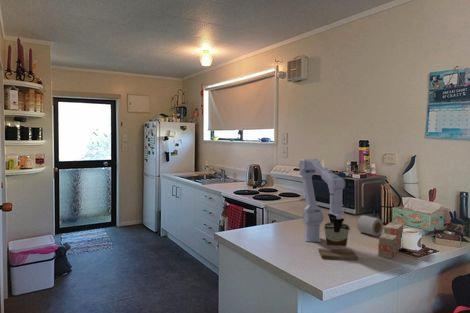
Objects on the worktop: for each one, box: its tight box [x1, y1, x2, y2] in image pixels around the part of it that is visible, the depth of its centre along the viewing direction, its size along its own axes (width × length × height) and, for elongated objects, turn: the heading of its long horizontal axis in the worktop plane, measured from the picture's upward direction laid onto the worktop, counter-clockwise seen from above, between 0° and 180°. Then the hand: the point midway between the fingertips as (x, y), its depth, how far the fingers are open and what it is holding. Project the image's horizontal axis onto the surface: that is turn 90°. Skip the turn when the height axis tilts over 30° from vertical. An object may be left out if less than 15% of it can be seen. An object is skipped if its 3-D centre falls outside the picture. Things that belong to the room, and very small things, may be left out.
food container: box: [323, 222, 351, 247], centre depth 164 cm, size 12×6×10 cm, turn 86°
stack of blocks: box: [377, 222, 404, 259], centre depth 164 cm, size 21×6×12 cm, turn 142°
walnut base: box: [317, 247, 359, 261], centre depth 158 cm, size 10×16×2 cm, turn 86°
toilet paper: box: [356, 215, 384, 237], centre depth 194 cm, size 10×10×10 cm
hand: (335, 230), depth 163 cm, fingers closed on food container, 6 cm apart
